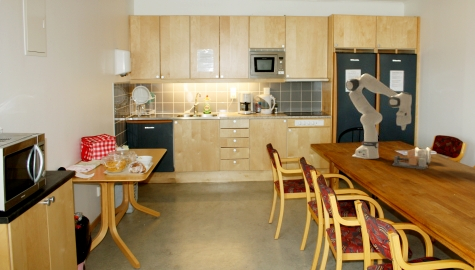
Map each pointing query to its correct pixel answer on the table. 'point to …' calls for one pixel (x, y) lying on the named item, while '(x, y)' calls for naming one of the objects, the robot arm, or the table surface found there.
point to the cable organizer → (423, 153)
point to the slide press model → (402, 164)
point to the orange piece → (412, 157)
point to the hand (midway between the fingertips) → (403, 130)
